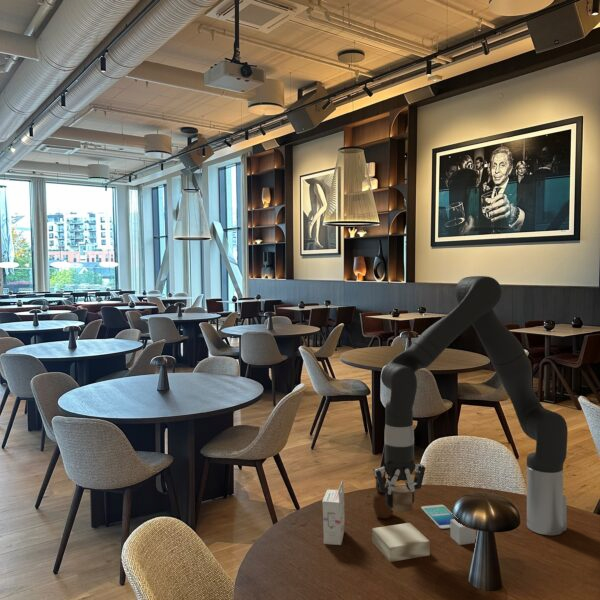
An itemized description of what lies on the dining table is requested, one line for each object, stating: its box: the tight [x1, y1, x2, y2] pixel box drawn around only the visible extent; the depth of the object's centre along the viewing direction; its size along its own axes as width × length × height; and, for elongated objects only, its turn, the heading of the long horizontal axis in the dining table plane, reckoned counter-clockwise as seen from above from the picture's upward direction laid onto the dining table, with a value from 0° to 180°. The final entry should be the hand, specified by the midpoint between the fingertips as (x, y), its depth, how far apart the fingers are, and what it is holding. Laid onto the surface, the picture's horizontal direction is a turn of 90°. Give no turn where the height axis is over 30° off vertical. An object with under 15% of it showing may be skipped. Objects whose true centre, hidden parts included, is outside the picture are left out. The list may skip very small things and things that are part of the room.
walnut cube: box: [391, 485, 413, 514], centre depth 142 cm, size 5×5×5 cm
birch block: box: [371, 522, 431, 563], centre depth 142 cm, size 11×11×4 cm
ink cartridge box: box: [321, 479, 346, 546], centre depth 148 cm, size 9×5×15 cm, turn 168°
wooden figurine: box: [372, 472, 394, 519], centre depth 161 cm, size 7×6×15 cm
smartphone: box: [420, 504, 454, 531], centre depth 160 cm, size 8×1×15 cm
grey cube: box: [449, 519, 477, 546], centre depth 146 cm, size 5×5×5 cm
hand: (399, 505), depth 142 cm, fingers closed on walnut cube, 4 cm apart
